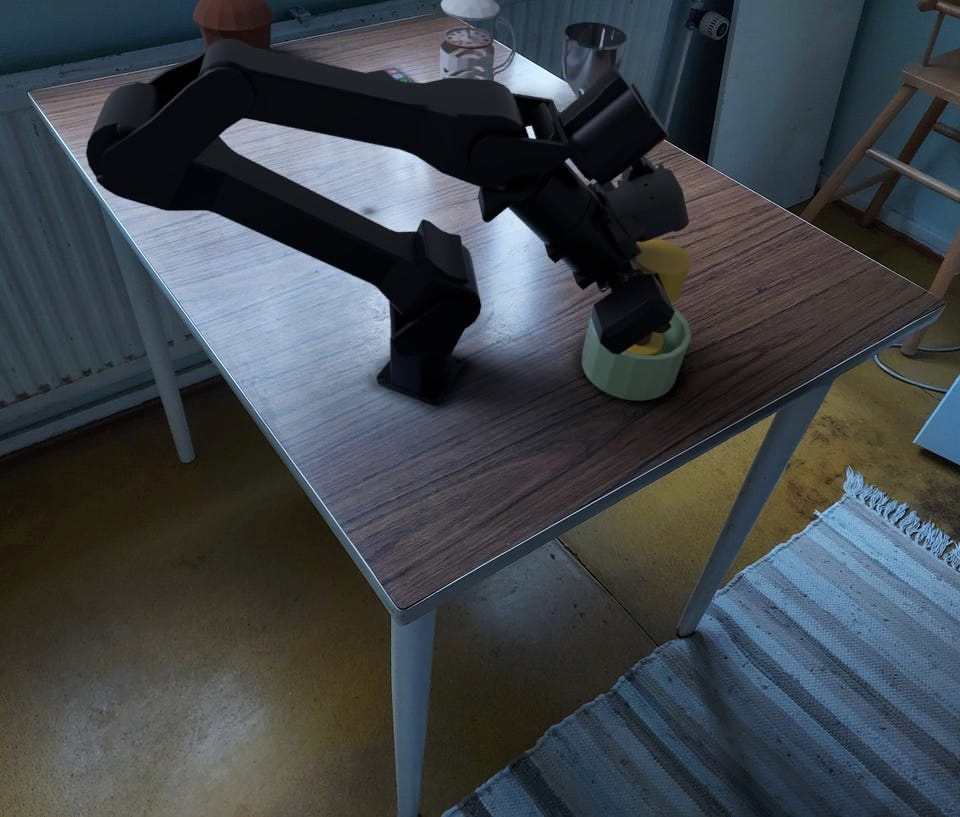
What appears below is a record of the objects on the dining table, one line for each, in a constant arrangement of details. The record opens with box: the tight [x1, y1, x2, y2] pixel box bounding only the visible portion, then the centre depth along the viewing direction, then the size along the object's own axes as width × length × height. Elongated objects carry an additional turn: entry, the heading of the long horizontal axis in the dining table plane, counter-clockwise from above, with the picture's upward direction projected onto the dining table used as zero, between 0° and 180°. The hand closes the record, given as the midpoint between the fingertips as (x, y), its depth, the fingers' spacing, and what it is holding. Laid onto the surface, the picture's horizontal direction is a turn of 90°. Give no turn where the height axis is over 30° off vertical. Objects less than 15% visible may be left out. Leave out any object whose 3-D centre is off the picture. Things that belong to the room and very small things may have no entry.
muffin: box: [192, 0, 275, 51], centre depth 118 cm, size 12×11×10 cm
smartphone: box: [366, 67, 416, 83], centre depth 117 cm, size 8×15×1 cm, turn 125°
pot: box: [581, 307, 692, 402], centre depth 77 cm, size 10×10×6 cm
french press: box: [438, 0, 517, 81], centre depth 108 cm, size 10×12×25 cm
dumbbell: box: [625, 239, 692, 356], centre depth 74 cm, size 5×5×13 cm
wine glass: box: [561, 21, 628, 99], centre depth 105 cm, size 8×8×15 cm
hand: (658, 311), depth 74 cm, fingers closed on dumbbell, 5 cm apart
